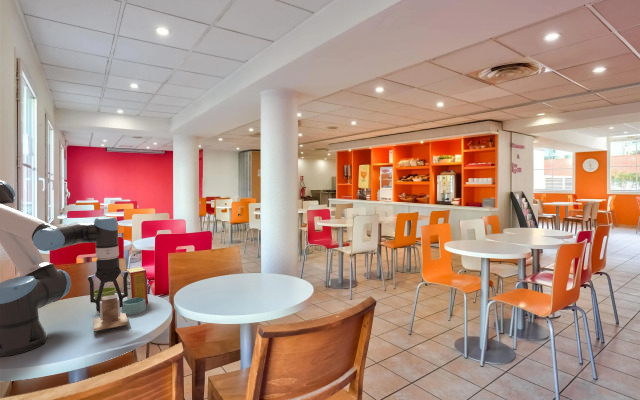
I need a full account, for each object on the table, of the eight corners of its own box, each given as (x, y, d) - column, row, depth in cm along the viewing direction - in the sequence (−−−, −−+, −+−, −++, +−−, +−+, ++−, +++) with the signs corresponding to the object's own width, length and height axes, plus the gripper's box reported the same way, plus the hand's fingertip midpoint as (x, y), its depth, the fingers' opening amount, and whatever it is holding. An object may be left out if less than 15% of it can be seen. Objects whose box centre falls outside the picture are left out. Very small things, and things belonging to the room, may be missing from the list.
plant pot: (109, 312, 155) (108, 293, 154) (88, 313, 155) (87, 293, 155) (122, 305, 164) (121, 286, 164) (102, 305, 164) (100, 287, 164)
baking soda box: (127, 301, 169) (125, 268, 168) (142, 298, 173) (140, 266, 173) (132, 306, 162) (130, 272, 161) (148, 303, 166) (146, 269, 165)
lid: (93, 331, 129) (92, 304, 129) (93, 321, 138) (92, 296, 138) (128, 324, 135) (127, 298, 135) (125, 315, 144) (124, 291, 144)
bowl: (123, 317, 148) (122, 306, 148) (121, 311, 156) (120, 300, 155) (147, 312, 153) (146, 301, 153) (144, 307, 161) (143, 296, 160)
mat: (94, 338, 129) (94, 336, 129) (93, 327, 139) (93, 326, 139) (131, 329, 135) (131, 328, 135) (128, 320, 145) (128, 318, 145)
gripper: (79, 262, 127) (82, 326, 129) (135, 256, 137) (137, 315, 139) (79, 259, 134) (82, 319, 135) (133, 253, 144) (135, 309, 145)
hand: (110, 317), depth 137 cm, fingers closed on lid, 5 cm apart
